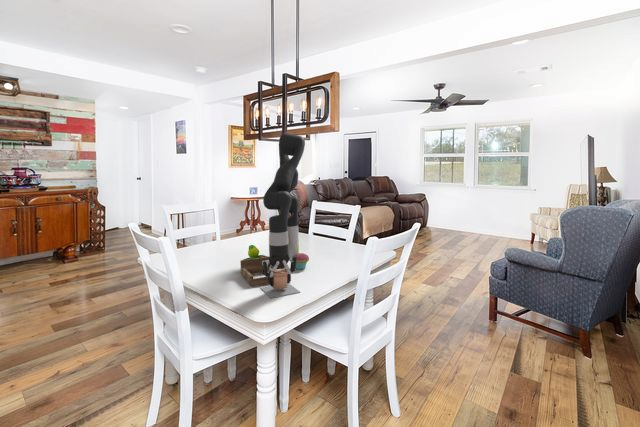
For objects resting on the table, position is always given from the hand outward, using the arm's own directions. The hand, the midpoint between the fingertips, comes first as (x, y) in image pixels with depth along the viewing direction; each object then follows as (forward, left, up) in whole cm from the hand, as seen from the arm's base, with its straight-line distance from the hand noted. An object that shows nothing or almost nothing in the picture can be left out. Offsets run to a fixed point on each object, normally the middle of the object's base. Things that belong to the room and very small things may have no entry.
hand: (279, 284), depth 132 cm
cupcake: (-24, +20, -3) cm, 31 cm away
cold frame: (-18, 0, -3) cm, 18 cm away
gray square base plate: (0, 0, -3) cm, 3 cm away
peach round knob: (0, 0, -1) cm, 1 cm away
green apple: (-34, +1, -3) cm, 34 cm away
